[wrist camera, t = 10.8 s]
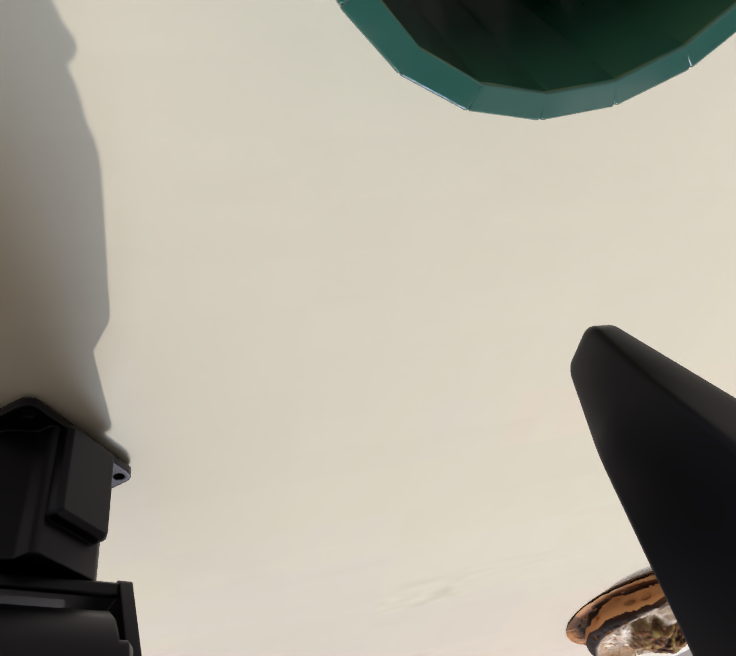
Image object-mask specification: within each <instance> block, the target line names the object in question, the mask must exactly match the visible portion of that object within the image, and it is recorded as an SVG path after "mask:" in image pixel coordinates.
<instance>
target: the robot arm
mask: <svg viewBox="0 0 736 656" xmlns="http://www.w3.org/2000/svg"><path fill="white" fill-rule="evenodd" d="M571 377H572V380H573V383H574V386H575V389H576V391H577V394H578V397H579V400H580V403H581V406H582V409H583V412H584V415H585V417H586V420H587V423H588V426H589V429H590V432H591V435H592V438H593V440H594V443H595V446H596V449H597V451H598V454H599V456H600V459H601V461H602V463H603V465H604V468H605V470H606V472H607V474H608V476H609V478H610V481H611V483H612V485H613V487H614V489H615V491H616V493H617V495H618V498H619V500H620V502H621V504H622V506H623V508H624V510H625V512H626V515H627V517H628V519H629V521H630V523H631V525H632V527H633V529H634V532H635V534H636V536H637V538H638V540H639V542H640V544H641V546H642V549H643V551H644V553H645V555H646V557H647V559H648V561H649V563H650V566H651V568H652V570H653V572H654V574H655V576H656V578H657V580H658V583H659V585H660V587H661V589H662V591H663V593H664V595H665V597H666V600H667V602H668V604H669V606H670V608H671V610H672V612H673V614H674V617H675V619H676V621H677V623H678V625H679V627H680V629H681V631H682V634H683V636H684V638H685V640H686V642H687V644H688V646H689V648H690V650H691V653H692V655H693V656H736V398H734V397H733V396H731V395H729V394H728V393H726V392H724V391H723V390H721V389H719V388H718V387H716V386H714V385H713V384H711V383H709V382H708V381H706V380H704V379H703V378H701V377H699V376H698V375H696V374H694V373H693V372H691V371H689V370H688V369H686V368H684V367H683V366H681V365H679V364H678V363H676V362H674V361H673V360H671V359H669V358H668V357H666V356H664V355H663V354H661V353H659V352H658V351H656V350H654V349H653V348H651V347H649V346H648V345H646V344H644V343H643V342H641V341H639V340H638V339H636V338H634V337H633V336H631V335H629V334H628V333H626V332H624V331H623V330H621V329H619V328H618V327H616V326H613V325H602V326H592V327H589V328H588V329H587V330H586V331H585V333H584V334H583V337H582V339H581V341H580V343H579V346H578V348H577V350H576V352H575V355H574V357H573V359H572V362H571ZM27 409H31V410H27ZM130 477H131V467H130V466H129V465H128V464H127V463H125V462H124V461H122V460H121V459H120V458H118V457H117V456H116V455H114V454H113V453H111V452H110V451H109V450H107V449H106V448H105V447H103V446H102V445H100V444H99V443H98V442H96V441H95V440H94V439H92V438H91V437H89V436H88V435H87V434H85V433H84V432H83V431H81V430H80V429H78V428H77V427H76V426H74V425H73V424H72V423H70V422H69V421H67V420H66V419H65V418H63V417H62V416H60V415H59V414H58V413H56V412H55V411H54V410H52V409H51V408H49V407H48V406H47V405H45V404H44V403H43V402H41V401H40V400H38V399H36V398H31V397H26V398H22V399H19V400H17V401H15V402H13V403H11V404H9V405H7V406H5V407H3V408H1V409H0V656H142V655H141V647H140V639H139V631H138V623H137V615H136V607H135V599H134V591H133V584H132V582H127V581H117V582H116V583H113V582H103V581H96V577H97V567H98V556H99V546H100V542H102V541H104V540H105V539H106V537H107V533H108V522H109V511H110V499H111V488H113V487H115V486H117V485H120V484H122V483H124V482H126V481H128V480H129V479H130Z"/></svg>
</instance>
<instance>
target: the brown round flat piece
mask: <svg viewBox="0 0 736 656" xmlns="http://www.w3.org/2000/svg"><path fill="white" fill-rule="evenodd" d="M651 575H652V576H651ZM651 575H650V576H649V577H647V578H644V579H639V580H636V581H635V582H633V583H631V584H628V585H625V586H624V587H620V588H618V589H615V590H613V591H611V592H610V593H608V594H605V595H602V596H600V597H599V598H598V599H596V600H595V601H594V602H592V603H589V604H588V605H587V606H585V607H584V608H583V609H581V611H579V612H578V613H577V614H576V616H575V617H574V618H573V619H572V621H571V622H570V624H569V625H568V627H567V632H566V633H567V637H568V638H569V639H570V640H571V641H573V642H575V643H577V644H584V645H586V646H587V648H588V650H589V651H590V653H591V654H592V655H593V656H636V653H637V654H638V655H640V654H645V653H650V652H654V653H672V654H674V653H677V652H679V650H680V649H681V648H683V647H685V646H686V644H687V642H686V640H685V638H684V636H683V634H682V631H681V629H680V627H679V625H678V623H677V621H676V619H675V617H674V614H673V612H672V610H671V608H670V606H669V604H668V602H667V600H666V597H665V595H664V593H663V591H662V589H661V587H660V585H659V583H658V580H657V578H656V576H655V575H653V574H651ZM645 577H646V576H645Z"/></svg>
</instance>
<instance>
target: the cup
mask: <svg viewBox="0 0 736 656" xmlns="http://www.w3.org/2000/svg"><path fill="white" fill-rule="evenodd" d="M336 2H337V3H338V5H339V7H340V8H341V10H342V11H343V12H344V13H345V14H346V15H347V17H348V18H349V19H350V20H351V21H352V22H353V23H354V25H355V26H356V27H357V28H358V29H359V30H360V31H361V32H362V34H363V35H364V36H365V37H366V38H367V39H368V40H369V42H370V43H371V44H372V45H373V46H374V47H375V48H376V49H377V51H378V52H379V53H380V54H381V55H382V56H383V57H384V59H385V60H386V61H387V62H388V63H389V64H390V65H391V67H392V68H393V69H394V70H395V71H396V72H397V73H399V74H400V75H401V76H402V77H404V78H406V79H408V80H410V81H412V82H413V83H415V84H417V85H419V86H421V87H423V88H425V89H426V90H428V91H430V92H432V93H434V94H436V95H438V96H439V97H441V98H443V99H445V100H447V101H449V102H451V103H452V104H454V105H456V106H458V107H460V108H462V109H464V110H469V111H473V112H481V113H488V114H495V115H503V116H510V117H518V118H525V119H532V120H539V119H541V120H545V119H550V118H555V117H560V116H565V115H571V114H576V113H581V112H586V111H592V110H597V109H602V108H607V107H612V106H613V105H618V104H620V103H622V102H624V101H626V100H628V99H630V98H632V97H634V96H636V95H638V94H640V93H642V92H644V91H646V90H648V89H650V88H653V87H655V86H657V85H659V84H661V83H663V82H665V81H667V80H669V79H671V78H673V77H675V76H677V75H679V74H681V73H683V72H685V71H687V70H688V69H689V67H693V66H695V65H696V64H697V63H698V62H700V61H701V60H702V59H703V58H705V57H706V56H707V55H708V54H710V53H711V52H712V51H713V50H715V49H716V48H717V47H718V46H720V45H721V44H722V43H723V42H725V41H726V40H727V39H728V38H730V37H731V36H732V35H733V34H735V33H736V0H336Z"/></svg>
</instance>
